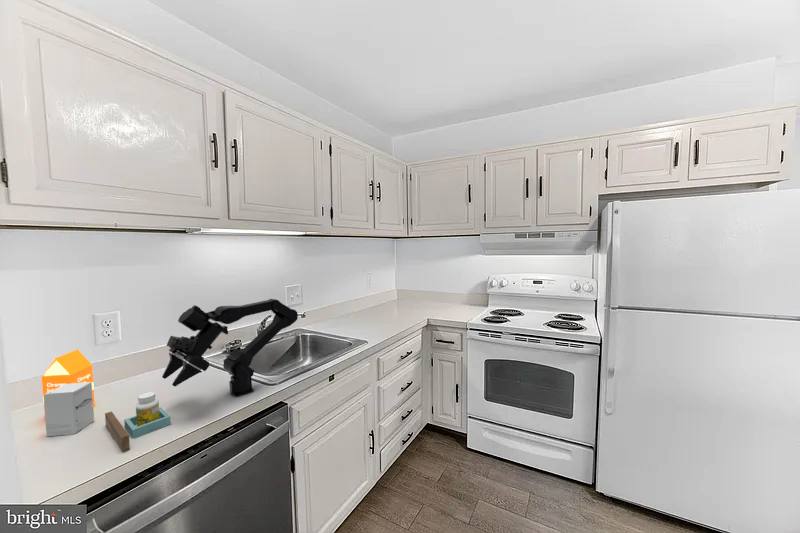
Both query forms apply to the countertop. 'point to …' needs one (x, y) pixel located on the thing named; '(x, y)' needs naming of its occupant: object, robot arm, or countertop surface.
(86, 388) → the supplement box
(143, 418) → the supplement bottle
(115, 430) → the wall
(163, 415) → the socket block
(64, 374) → the orange juice
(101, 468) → the countertop surface
